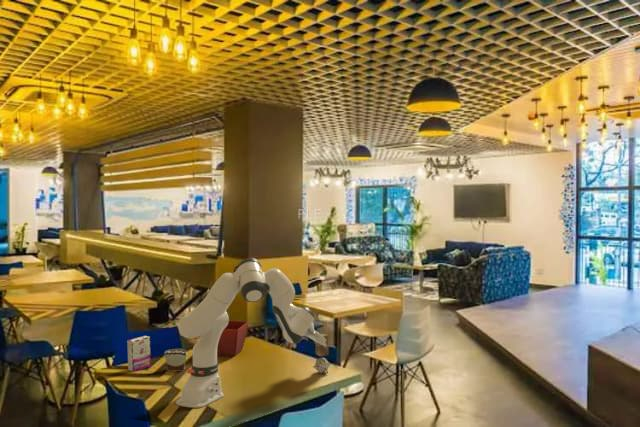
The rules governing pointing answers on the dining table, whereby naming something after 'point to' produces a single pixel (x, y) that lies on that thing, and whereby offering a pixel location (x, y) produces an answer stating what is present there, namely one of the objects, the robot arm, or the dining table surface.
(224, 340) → the plant pot
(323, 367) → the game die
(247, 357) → the dining table surface
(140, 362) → the candy bar box
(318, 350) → the walnut block
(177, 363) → the food container
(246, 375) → the dining table surface
